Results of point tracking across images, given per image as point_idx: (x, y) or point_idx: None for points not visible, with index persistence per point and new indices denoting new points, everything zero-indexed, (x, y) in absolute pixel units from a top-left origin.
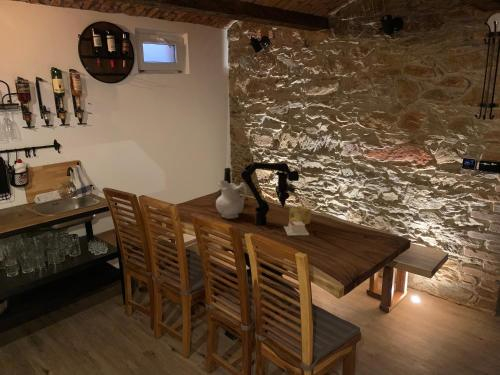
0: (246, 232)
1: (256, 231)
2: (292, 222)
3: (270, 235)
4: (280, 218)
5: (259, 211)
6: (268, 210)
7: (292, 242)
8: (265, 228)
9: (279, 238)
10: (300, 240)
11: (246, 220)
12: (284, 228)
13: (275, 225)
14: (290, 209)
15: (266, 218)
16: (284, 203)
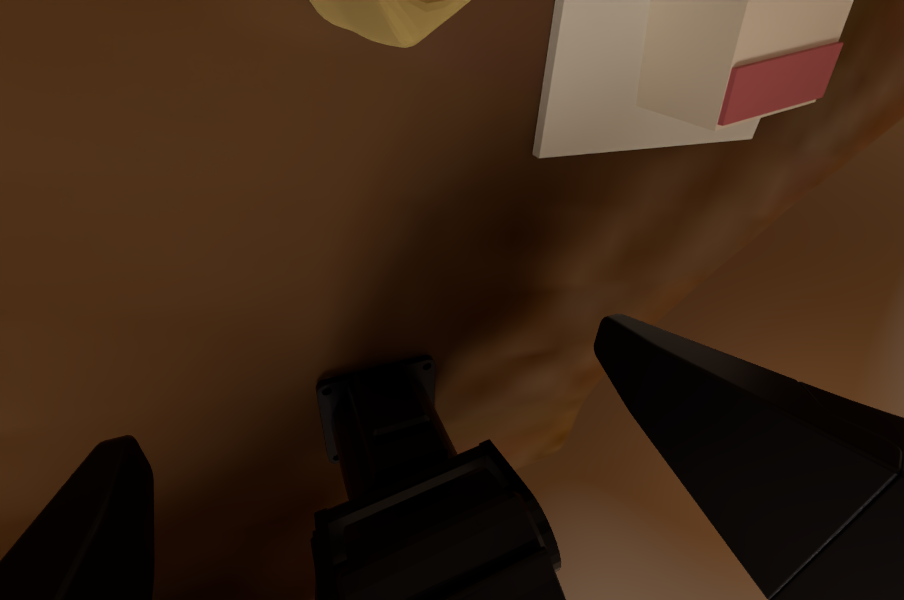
0: (560, 443)
1: (562, 394)
2: (760, 70)
3: (667, 290)
4: (89, 168)
5: (340, 547)
6: (498, 485)
7: (858, 114)
8: (517, 343)
9: (746, 220)
10: (883, 15)
11: (286, 523)
12: (579, 151)
13: (450, 255)
14: (430, 25)
15: (421, 403)
16: (745, 372)
